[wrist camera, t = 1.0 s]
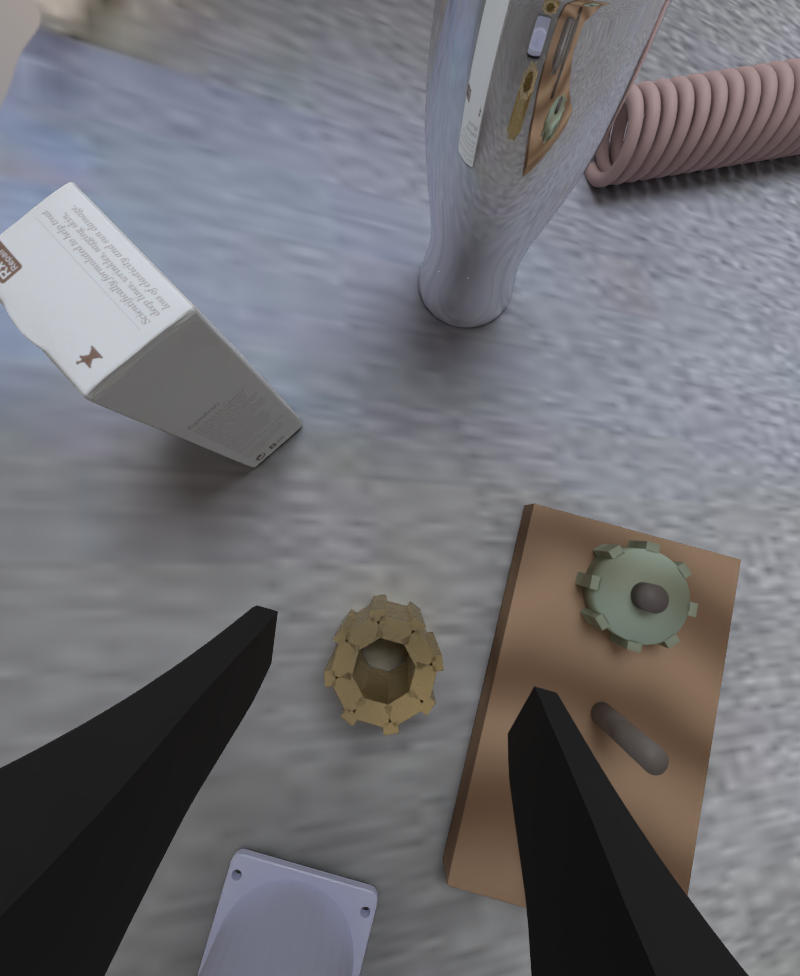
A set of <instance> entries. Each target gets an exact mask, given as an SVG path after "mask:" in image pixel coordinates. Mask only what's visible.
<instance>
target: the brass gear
mask: <svg viewBox="0 0 800 976" xmlns="http://www.w3.org/2000/svg"><path fill="white" fill-rule="evenodd" d="M425 627H426V626H425V623H424V620H423V617H422V614H421V611H420V609H419V608H418V607H417V606H416V605H414V604H413V603H412V602H411V601H410V603H409V604H408V605H407V606H404V605H401V604H397V603H393V602H390V601H387V600H386V595H379V596H374V598H373V601H372V604H371V605H369V606H368V607H366V608H364V609H362V610H361V611H359V612H357V613H356V612H354V611H353V610H351V611H350V612H349V613H348V615H347V616H346V617H345V619H344V620H343V622H342V624H341V626H340V628H339V629H338V631H337V633H336V635H335V637H334V638H333V640H334V641H335V642H336V643H338V644H339V645H337V646H336V648H335V650H334V652H333V654H332V656H331V658H330V660H329V662H328V664H327V666H326V668H325V670H324V678H325V687H331V686H333V687H334V689H335V691H336V693H337V695H338V697H339V699H340V701H341V703H342V705H343V706H344V707H343V711H342V714H341V717H342V718H343V719H344V720H345V721H347V722H348V723H349V724H350V725H352V726H353V725H354V724H355V723H356V721H357V720H359V721H363V722H366V723H370V724H373V725H377V726H380V727H383V732H384V735H389V734H396V733H399V724H400V723H402V722H404V721H405V720H407V719H409V718H410V717H412V716H413V715H415V714H417V713H418V712H420V711H422V712H423V713H424V714H425V715H428V713H429V712H430V711H431V709H432V708H433V706H434V705H435V704H436V701H435V697H434V693H433V689H432V688H433V684H434V680H435V676H436V672H437V671H443V670H444V668H443V660H442V654H441V652H440V649H439V647H438V644H437V641H436V639H435V636H434V634H433V632H428V633H427V632H426V630H425ZM379 638H382V639H386V640H390V641H393V642H397V643H400V644H404V646H405V648H406V650H407V651H408V653H409V654H408V658H407V661H406V662H405V663H403V664H401V665H400V666H398V667H396V668H395V669H393V670H391V671H390V672H388V671H384V670H380V669H377V668H373V667H370V666H369V664H368V663H367V661H366V659H365V657H364V655H363V653H362V651H361V649H362V648H364V647H366V646H367V645H369V644H371V643H372V642H374V641H376V640H377V639H379Z"/></svg>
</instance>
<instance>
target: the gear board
mask: <svg viewBox="0 0 800 976" xmlns="http://www.w3.org/2000/svg"><path fill="white" fill-rule="evenodd" d="M740 562H741V560H740V559H736V558H733V557H729V556H725V555H722V554H718V553H714V552H711V551H707V550H703V549H699V548H696V547H692V546H688V545H685V544H681V543H677V542H674V541H670V540H666V539H663V538H659V537H655V536H652V535H648V534H644V533H640V532H637V531H633V530H629V529H626V528H622V527H618V526H615V525H611V524H607V523H604V522H600V521H596V520H593V519H589V518H585V517H581V516H578V515H574V514H570V513H567V512H563V511H559V510H556V509H552V508H548V507H545V506H541V505H537V504H530V505H525V507H524V511H523V516H522V520H521V524H520V529H519V533H518V537H517V541H516V546H515V550H514V554H513V559H512V563H511V567H510V572H509V576H508V580H507V585H506V589H505V593H504V598H503V602H502V606H501V611H500V615H499V619H498V623H497V628H496V632H495V636H494V641H493V645H492V649H491V654H490V658H489V662H488V667H487V671H486V675H485V680H484V684H483V688H482V693H481V697H480V701H479V705H478V710H477V714H476V718H475V723H474V727H473V731H472V736H471V740H470V744H469V749H468V753H467V757H466V762H465V766H464V770H463V775H462V779H461V783H460V787H459V792H458V796H457V800H456V805H455V809H454V813H453V818H452V822H451V826H450V831H449V835H448V839H447V844H446V848H445V852H444V857H443V862H444V869H445V875H446V882H447V885H448V886H452V887H455V888H459V889H462V890H466V891H469V892H473V893H476V894H480V895H483V896H487V897H490V898H494V899H497V900H501V901H504V902H508V903H511V904H515V905H518V906H522V907H525V908H526V899H525V891H524V884H523V877H522V870H521V862H520V855H519V848H518V841H517V834H516V827H515V820H514V812H513V805H512V797H511V790H510V782H509V766H508V732H509V730H510V729H511V727H512V725H513V723H514V721H515V720H516V718H517V716H518V714H519V713H520V711H521V709H522V707H523V705H524V704H525V702H526V700H527V698H528V697H529V695H530V693H531V691H532V689H533V688H534V686H536V687H539V688H543V689H546V690H549V691H553V692H556V693H557V694H558V695H559V697H560V699H561V700H562V702H563V704H564V705H565V707H566V709H567V711H568V712H569V714H570V716H571V717H572V719H573V721H574V722H575V724H576V726H577V728H578V729H579V731H580V733H581V734H582V736H583V738H584V739H585V741H586V743H587V744H588V746H589V748H590V750H591V751H592V753H593V755H594V756H595V758H596V760H597V761H598V763H599V764H600V766H601V768H602V769H603V771H604V773H605V774H606V776H607V778H608V779H609V781H610V782H611V784H612V786H613V787H614V789H615V790H616V792H617V794H618V795H619V797H620V798H621V800H622V801H623V803H624V805H625V806H626V808H627V809H628V811H629V812H630V814H631V815H632V817H633V818H634V820H635V821H636V823H637V824H638V826H639V827H640V829H641V830H642V832H643V833H644V835H645V836H646V838H647V839H648V841H649V842H650V844H651V845H652V847H653V848H654V850H655V851H656V853H657V854H658V856H659V857H660V859H661V860H662V861H663V863H664V864H665V866H666V867H667V868H668V870H669V871H670V873H671V874H672V876H673V877H674V878H675V880H676V881H677V882H678V884H679V885H680V887H681V888H682V889H683V891H684V892H685V893H686V895H688V889H689V883H690V877H691V870H692V864H693V858H694V851H695V845H696V839H697V833H698V826H699V820H700V814H701V807H702V801H703V795H704V789H705V782H706V776H707V770H708V763H709V757H710V751H711V745H712V738H713V732H714V726H715V719H716V713H717V707H718V701H719V694H720V688H721V682H722V675H723V669H724V663H725V657H726V650H727V644H728V638H729V631H730V625H731V619H732V613H733V606H734V600H735V594H736V587H737V581H738V575H739V569H740Z"/></svg>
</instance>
